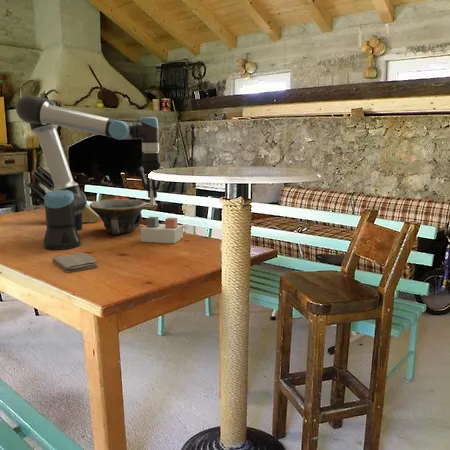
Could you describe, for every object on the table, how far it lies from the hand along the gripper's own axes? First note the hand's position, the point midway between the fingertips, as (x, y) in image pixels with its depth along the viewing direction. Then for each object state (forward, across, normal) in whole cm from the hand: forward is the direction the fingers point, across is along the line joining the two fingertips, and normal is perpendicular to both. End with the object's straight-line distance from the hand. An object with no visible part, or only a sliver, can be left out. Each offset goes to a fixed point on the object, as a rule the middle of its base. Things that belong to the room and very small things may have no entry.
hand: (152, 204), depth 204 cm
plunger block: (+16, -4, 0) cm, 16 cm away
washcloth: (+16, +13, +46) cm, 51 cm away
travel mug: (+16, +47, -11) cm, 51 cm away
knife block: (+16, +62, -26) cm, 69 cm away
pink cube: (+11, -9, 0) cm, 14 cm away
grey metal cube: (+11, 0, 0) cm, 11 cm away
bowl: (+16, +22, -10) cm, 29 cm away
